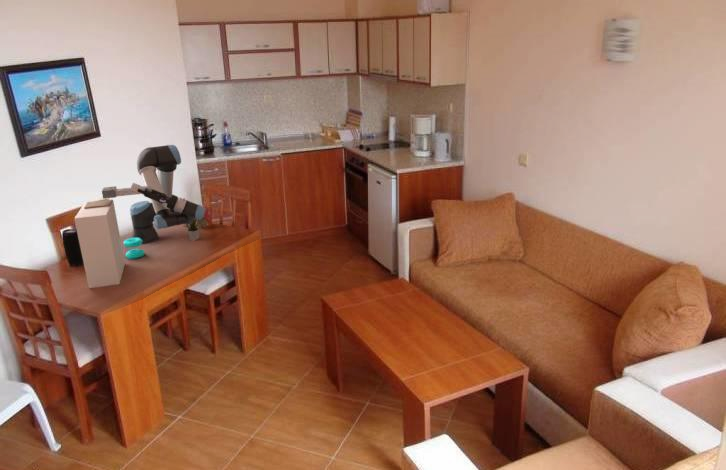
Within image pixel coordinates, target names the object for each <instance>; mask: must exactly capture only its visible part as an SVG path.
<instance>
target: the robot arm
mask: <svg viewBox="0 0 726 470" xmlns="http://www.w3.org/2000/svg"><path fill="white" fill-rule="evenodd" d="M180 164H182V158H181V154H180V150H179V148H178V147H177V146H176V145H174V144H167V145H161V146H149V147H146V148H144V149H143V150H141V152H140V153H139V154H138V156H137V160H136V169H137V172H138V174H139V175H140V176H141V177H142V180H143V183H144V186H151V189H152V192H149V191H147V189H143V188H140V187H142V186H143V185H141V184H138V183H135V182H132V184H131V187H130V188H131V189H130V190H133V191H135V192H138V193H140V194H139V195H142V196H144V197H145V198H148V199H150V201H151V202H150V201H148V200H144V201H138V202H135V203H133V204H132V205H130V207H129V212H130V213H129V214H130V219H131V223H132V229H133V230H132V235H131V238H141V239H142V244H141V245H144V244H148V243H152V242H155V241H157V240H158V239H159V234H158V233H157V230H156V229H158V230H160V229H161V230H162V229H167V228H171V227H175V226H181V225H185V226H187V225H189V224H191V223H192V222H194V220H195V219H198V220H201V219H202V218H203V216H204V213H205V208H204V207H202V206H200V205H201V204H197V203H194V202H192V201H190V200H188V199H186V198H185V197H184V198H182V197H179V196H177V195H175V194H173V187H174V172H175V171H176V170H177V166H179V165H180ZM156 171H157V172H156ZM154 226H155V227H156V228H155V227H154Z"/></svg>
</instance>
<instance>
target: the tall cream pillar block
mask: <svg viewBox="0 0 726 470" xmlns="http://www.w3.org/2000/svg"><path fill="white" fill-rule="evenodd" d="M114 202H115V201H114V200H113V199H105V200H95V201H94V200H93V201H87V202H84V203H83V204H82V206H81V207H80V209H79V210H78V212H77V214H76V215H75V216H74V224H75V229H77V234H78V239H79V243H80V248H81V253H82V258H83V262H84V263H83V266H84V271H85V276H86V281H87V286H88V288H89V289H95V288H101V287H107V286H115V285H120V283H121V280H122V276H123V273H124V268H125V265H126V262H125V257H124V255H125V254H124V251H123V246H122V245H123V244H122V240H121V235H120V230H119V225H118V219H117V213H116V209H115V207H116V206H115V203H114Z"/></svg>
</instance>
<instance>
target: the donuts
mask: <svg viewBox="0 0 726 470" xmlns="http://www.w3.org/2000/svg"><path fill="white" fill-rule="evenodd" d="M122 245H123V246H124V247H126V248H132V249H130V250H128V251H126V252H125V258H127V259H129V260H131V259H132V260H135V259H140V258H141V257H143V256H144V255H145V251H144V250H143V249H141V248H137V247H139V246H140V245H143V244H142V239H141V238H132V237H130V238H127V239H125V240H124V241H123V244H122ZM133 248H134V249H133Z"/></svg>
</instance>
